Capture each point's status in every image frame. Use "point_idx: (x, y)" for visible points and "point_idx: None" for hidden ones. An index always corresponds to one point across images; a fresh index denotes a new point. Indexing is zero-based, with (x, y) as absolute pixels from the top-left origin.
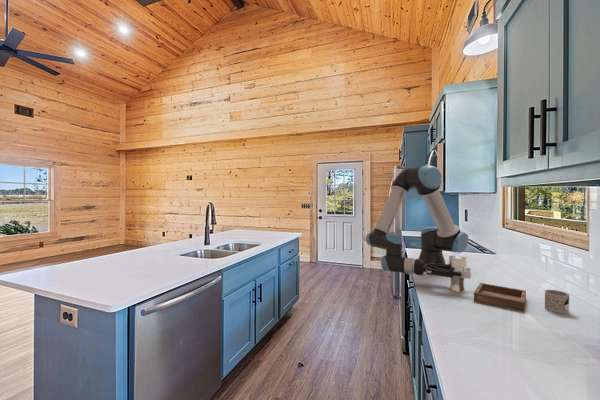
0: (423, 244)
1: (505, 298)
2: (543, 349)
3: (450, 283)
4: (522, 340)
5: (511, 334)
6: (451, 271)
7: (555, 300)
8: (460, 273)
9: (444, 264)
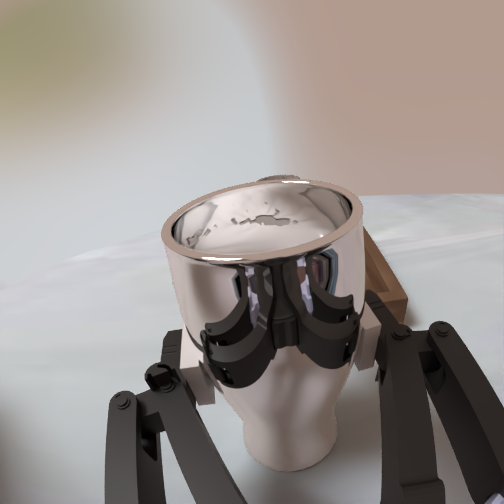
0: None
1: (367, 239)
2: (491, 213)
3: (302, 449)
4: (498, 225)
5: (499, 235)
6: (410, 332)
7: None
8: (373, 294)
9: (126, 464)
